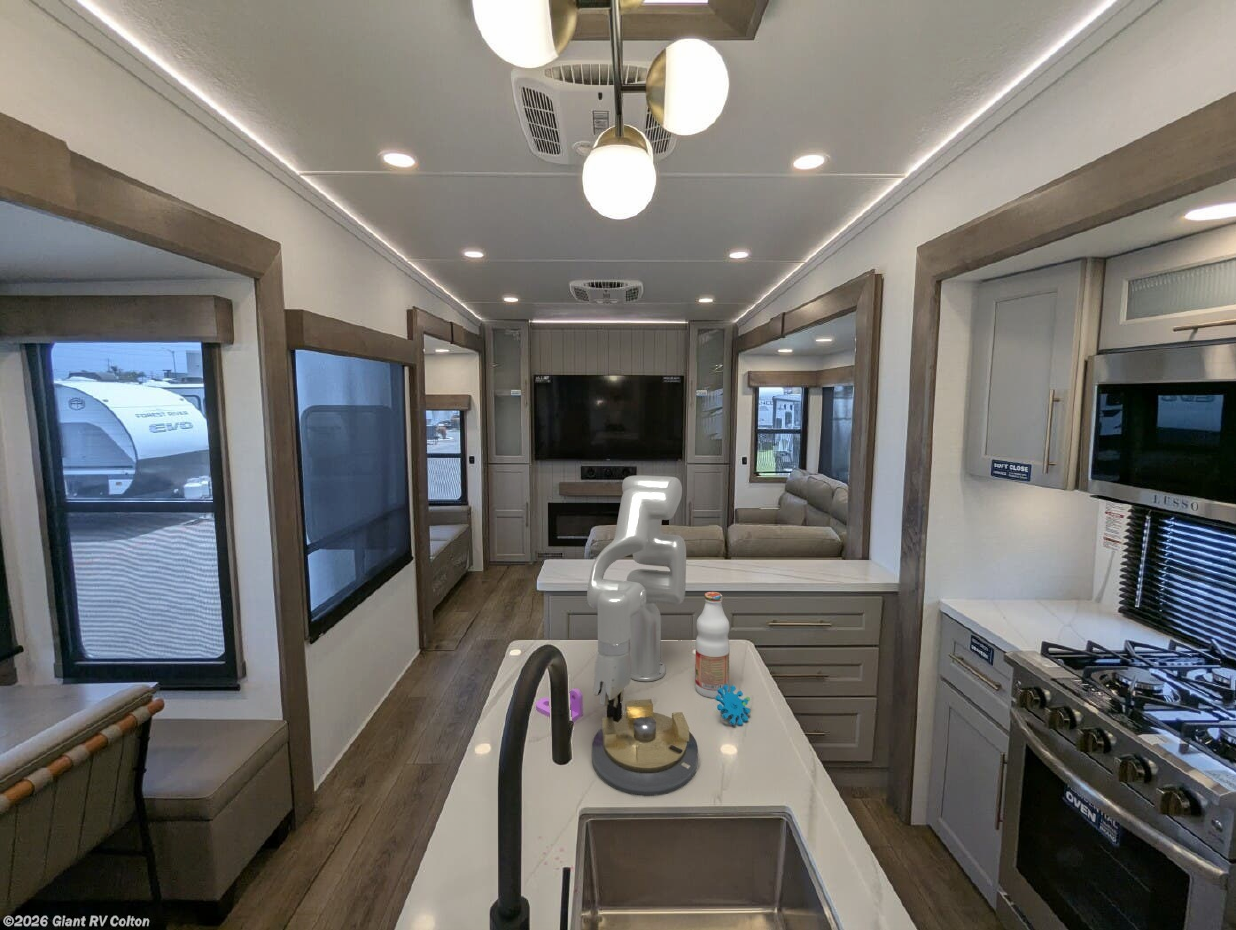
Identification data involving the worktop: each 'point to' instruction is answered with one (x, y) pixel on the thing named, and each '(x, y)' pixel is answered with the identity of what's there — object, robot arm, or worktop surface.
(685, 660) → the worktop surface
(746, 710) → the gear
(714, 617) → the fruit juice
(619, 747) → the four-jaw chuck
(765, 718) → the worktop surface
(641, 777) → the cap flange
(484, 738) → the worktop surface
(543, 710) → the bracket
